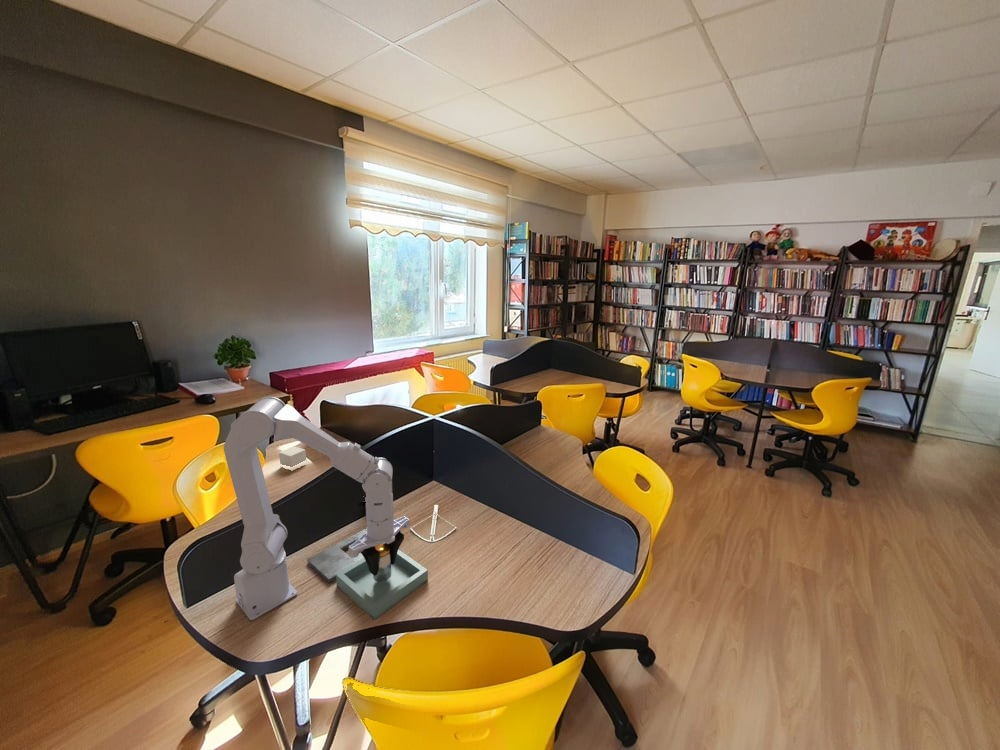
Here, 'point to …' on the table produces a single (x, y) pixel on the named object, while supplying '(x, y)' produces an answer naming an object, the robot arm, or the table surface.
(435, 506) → the crossbow
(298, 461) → the light grey cube
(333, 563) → the bracket
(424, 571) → the tray
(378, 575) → the orange-capped cylinder
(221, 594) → the table surface
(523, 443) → the table surface
